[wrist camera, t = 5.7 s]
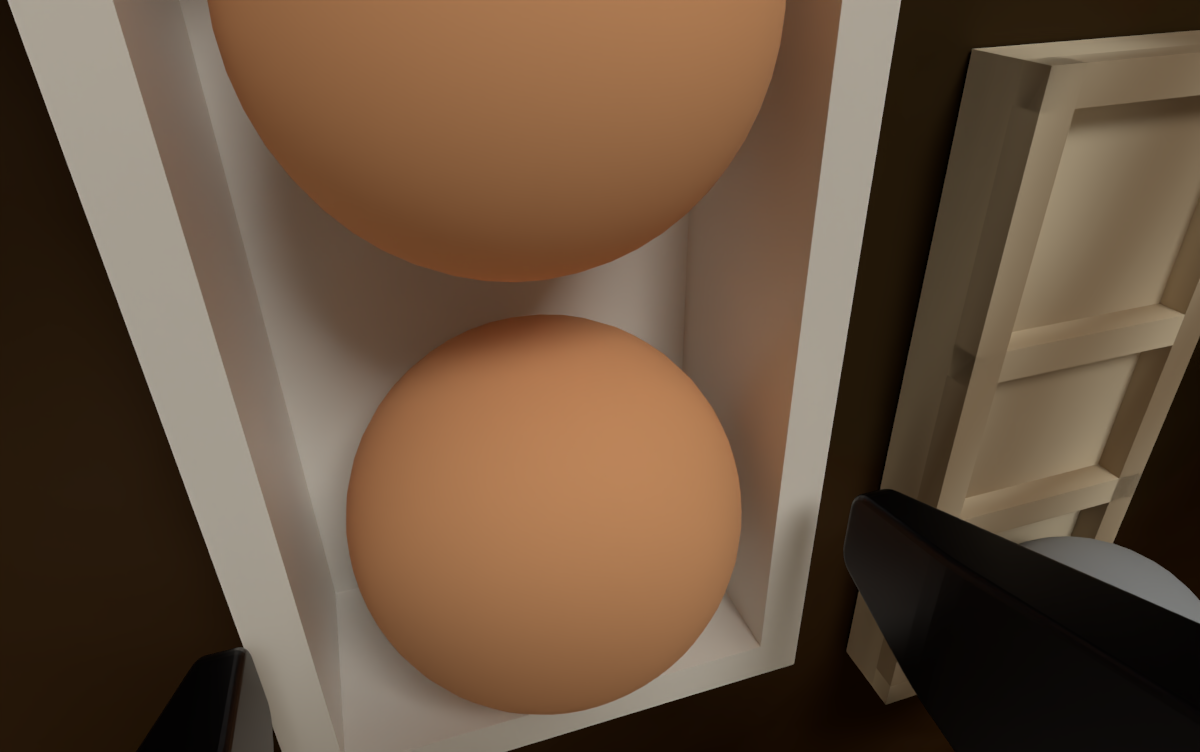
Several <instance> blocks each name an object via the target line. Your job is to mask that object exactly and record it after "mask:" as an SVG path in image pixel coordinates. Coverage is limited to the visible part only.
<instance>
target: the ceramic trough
mask: <svg viewBox="0 0 1200 752" xmlns="http://www.w3.org/2000/svg"><path fill="white" fill-rule="evenodd" d="M8 3H9V6H10V8H11V11H12V14H13V17H14V19H15V22H16V25H17V27H18V30H19V33H20V36H21V38H22V41H23V44H24V47H25V49H26V52H27V55H28V58H29V60H30V63H31V66H32V69H33V71H34V74H35V77H36V80H37V82H38V85H39V88H40V91H41V93H42V96H43V99H44V101H45V104H46V107H47V110H48V112H49V115H50V118H51V121H52V123H53V126H54V129H55V132H56V134H57V137H58V140H59V143H60V145H61V148H62V151H63V154H64V156H65V159H66V162H67V165H68V167H69V170H70V173H71V175H72V178H73V181H74V184H75V186H76V189H77V192H78V195H79V197H80V200H81V203H82V206H83V208H84V211H85V214H86V217H87V219H88V222H89V225H90V228H91V230H92V233H93V236H94V239H95V241H96V244H97V247H98V249H99V252H100V255H101V258H102V260H103V263H104V266H105V269H106V271H107V274H108V277H109V280H110V282H111V285H112V288H113V291H114V293H115V296H116V299H117V302H118V304H119V307H120V310H121V313H122V315H123V318H124V321H125V323H126V326H127V329H128V332H129V334H130V337H131V340H132V343H133V345H134V348H135V351H136V354H137V356H138V359H139V362H140V365H141V367H142V370H143V373H144V376H145V378H146V381H147V384H148V387H149V389H150V392H151V395H152V397H153V400H154V403H155V406H156V408H157V411H158V414H159V417H160V419H161V422H162V425H163V428H164V430H165V433H166V436H167V439H168V441H169V444H170V447H171V450H172V452H173V455H174V458H175V461H176V463H177V466H178V469H179V471H180V474H181V477H182V480H183V482H184V485H185V488H186V491H187V493H188V496H189V499H190V502H191V504H192V507H193V510H194V513H195V515H196V518H197V521H198V524H199V526H200V529H201V532H202V534H203V537H204V540H205V543H206V545H207V548H208V551H209V554H210V556H211V559H212V562H213V565H214V567H215V570H216V573H217V576H218V578H219V581H220V584H221V587H222V589H223V592H224V595H225V598H226V600H227V603H228V606H229V608H230V611H231V614H232V617H233V619H234V622H235V625H236V628H237V630H238V633H239V636H240V639H241V641H242V644H243V647H244V648H245V649H247V650H248V651H249V653H250V654H251V656H252V659H253V662H254V664H255V667H256V670H257V673H258V675H259V678H260V681H261V684H262V687H263V689H264V692H265V695H266V698H267V701H268V704H269V708H270V713H271V720H272V726H273V729H274V732H275V735H276V737H277V740H278V743H279V746H280V748H281V751H282V752H506V751H509V750H513V749H516V748H519V747H522V746H526V745H529V744H532V743H536V742H539V741H542V740H546V739H549V738H552V737H555V736H559V735H562V734H565V733H569V732H572V731H575V730H578V729H582V728H585V727H588V726H592V725H595V724H598V723H601V722H605V721H608V720H611V719H615V718H618V717H621V716H625V715H628V714H631V713H634V712H638V711H641V710H644V709H648V708H651V707H654V706H657V705H661V704H664V703H667V702H671V701H674V700H677V699H681V698H684V697H687V696H690V695H694V694H697V693H700V692H704V691H707V690H710V689H713V688H717V687H720V686H723V685H727V684H730V683H733V682H736V681H740V680H743V679H746V678H750V677H753V676H756V675H760V674H763V673H766V672H769V671H773V670H776V669H779V668H783V667H786V666H789V665H792V664H794V661H795V654H796V648H797V642H798V636H799V630H800V623H801V617H802V611H803V605H804V599H805V592H806V586H807V580H808V574H809V568H810V561H811V555H812V549H813V543H814V537H815V530H816V524H817V518H818V512H819V506H820V499H821V493H822V487H823V481H824V475H825V468H826V462H827V456H828V450H829V444H830V437H831V431H832V425H833V419H834V413H835V406H836V400H837V394H838V388H839V382H840V375H841V369H842V363H843V357H844V351H845V344H846V338H847V332H848V326H849V320H850V313H851V307H852V301H853V295H854V289H855V282H856V276H857V270H858V264H859V257H860V251H861V245H862V239H863V233H864V226H865V220H866V214H867V208H868V202H869V195H870V189H871V183H872V177H873V171H874V164H875V158H876V152H877V146H878V140H879V133H880V127H881V121H882V115H883V109H884V102H885V96H886V90H887V84H888V78H889V71H890V65H891V59H892V53H893V47H894V40H895V34H896V28H897V22H898V16H899V9H900V3H901V0H786V9H785V16H784V23H783V30H782V37H781V44H780V48H779V52H778V56H777V60H776V64H775V68H774V71H773V75H772V79H771V82H770V84H769V87H768V90H767V93H766V95H765V98H764V101H763V103H762V106H761V109H760V111H759V113H758V115H757V117H756V119H755V121H754V123H753V125H752V127H751V129H750V131H749V134H748V136H747V138H746V140H745V141H744V143H743V144H742V146H741V148H740V149H739V151H738V152H737V154H736V155H735V157H734V159H733V160H732V162H731V163H730V165H729V167H728V168H727V169H726V170H725V172H724V173H723V174H722V176H721V177H720V178H719V179H718V181H717V182H716V183H715V184H714V186H713V187H712V188H711V189H710V191H709V192H708V193H707V194H706V195H705V196H704V197H703V198H702V199H701V200H700V201H699V202H698V203H697V204H696V205H695V206H694V207H693V208H692V209H691V210H690V211H689V212H688V213H687V214H686V215H685V216H683V217H682V218H681V219H680V220H679V221H677V222H676V223H675V224H674V225H672V226H671V227H670V228H669V229H667V230H666V231H665V232H664V233H662V234H661V235H659V236H657V237H656V238H654V239H653V240H651V241H650V242H648V243H646V244H645V245H643V246H642V247H640V248H639V249H637V250H635V251H632V252H630V253H628V254H626V255H624V256H622V257H620V258H618V259H616V260H614V261H612V262H609V263H606V264H603V265H600V266H597V267H594V268H591V269H589V270H586V271H583V272H579V273H576V274H571V275H567V276H562V277H557V278H552V279H548V280H537V281H525V282H496V281H482V280H475V279H469V278H463V277H457V276H452V275H449V274H445V273H442V272H438V271H435V270H432V269H428V268H425V267H422V266H418V265H415V264H412V263H410V262H408V261H405V260H403V259H401V258H399V257H396V256H394V255H392V254H389V253H387V252H385V251H383V250H381V249H379V248H377V247H376V246H374V245H372V244H371V243H369V242H367V241H366V240H364V239H362V238H361V237H359V236H357V235H356V234H354V233H352V232H351V231H350V230H348V229H347V228H346V227H344V226H343V225H342V224H341V223H339V222H338V221H337V220H335V219H334V218H333V217H332V216H330V215H329V214H328V213H326V212H325V211H324V210H323V209H322V208H321V207H320V206H319V205H318V204H317V203H315V202H314V201H313V200H312V199H311V198H310V197H309V196H308V195H307V194H306V193H305V192H304V191H303V190H302V189H301V188H300V187H299V186H298V185H297V184H296V183H295V182H294V181H293V179H292V178H291V177H290V176H289V175H288V174H287V172H286V171H285V170H284V169H283V167H282V166H281V165H280V164H279V162H278V161H277V160H276V159H275V157H274V156H273V155H272V153H271V152H270V151H269V150H268V148H267V147H266V146H265V144H264V143H263V141H262V139H261V138H260V136H259V134H258V133H257V131H256V130H255V128H254V126H253V125H252V123H251V121H250V120H249V118H248V116H247V115H246V113H245V112H244V110H243V108H242V105H241V103H240V101H239V99H238V97H237V94H236V92H235V90H234V88H233V86H232V83H231V81H230V79H229V77H228V75H227V72H226V70H225V67H224V64H223V60H222V57H221V54H220V51H219V48H218V44H217V41H216V38H215V35H214V32H213V28H212V23H211V17H210V12H209V7H208V1H207V0H8ZM539 314H545V315H567V316H574V317H581V318H586V319H589V320H593V321H597V322H600V323H604V324H607V325H610V326H614V327H617V328H619V329H621V330H623V331H626V332H628V333H630V334H632V335H634V336H636V337H638V338H640V339H641V340H643V341H645V342H647V343H648V344H650V345H651V346H653V347H654V348H656V349H657V350H659V351H660V352H662V353H663V354H665V355H666V356H667V357H668V358H669V359H670V360H671V361H672V362H673V363H675V364H676V365H677V366H678V367H679V368H680V369H681V370H682V371H683V372H684V373H685V374H686V375H688V376H689V377H690V378H691V379H692V381H693V382H694V383H695V385H696V386H697V387H698V389H699V390H700V391H701V392H702V394H703V395H704V397H705V398H706V399H707V401H708V402H709V403H710V405H711V406H712V408H713V410H714V412H715V413H716V415H717V417H718V419H719V421H720V423H721V425H722V427H723V429H724V432H725V434H726V436H727V438H728V440H729V443H730V447H731V450H732V453H733V456H734V460H735V464H736V468H737V472H738V477H739V484H740V491H741V509H742V515H741V533H740V539H739V546H738V552H737V558H736V563H735V566H734V569H733V572H732V575H731V578H730V581H729V584H728V586H727V589H726V592H725V594H724V596H723V598H722V601H721V603H720V605H719V607H718V609H717V610H716V612H715V614H714V615H713V617H712V619H711V620H710V622H709V623H708V625H707V626H706V628H705V629H704V631H703V632H702V633H701V635H700V636H699V637H698V639H697V640H696V641H695V643H694V644H693V645H692V646H691V647H690V648H689V650H688V651H687V652H686V653H685V654H684V655H683V656H682V657H681V658H680V659H679V660H678V661H677V662H676V663H675V664H673V665H672V666H671V667H670V668H669V669H667V670H666V671H665V672H664V673H662V674H661V675H660V676H658V677H657V678H655V679H654V680H652V681H651V682H649V683H648V684H646V685H645V686H643V687H641V688H639V689H638V690H636V691H634V692H632V693H630V694H628V695H626V696H624V697H622V698H620V699H617V700H615V701H612V702H610V703H607V704H604V705H601V706H598V707H595V708H591V709H587V710H584V711H578V712H573V713H566V714H555V715H536V714H518V713H510V712H505V711H501V710H497V709H492V708H489V707H486V706H482V705H479V704H476V703H473V702H471V701H468V700H466V699H463V698H461V697H458V696H457V695H455V694H453V693H452V692H450V691H448V690H446V689H445V688H443V687H441V686H439V685H438V684H436V683H434V682H433V681H431V680H429V679H428V678H427V677H425V676H424V675H423V674H422V673H421V672H419V671H418V670H417V669H416V668H415V667H413V666H412V665H411V664H410V663H409V662H408V661H407V660H406V659H405V658H404V657H402V656H401V655H400V654H399V652H398V651H397V650H396V649H395V648H394V646H393V645H392V644H391V643H390V642H389V641H388V639H387V638H386V636H385V635H384V634H383V632H382V631H381V630H380V628H379V627H378V625H377V624H376V622H375V620H374V618H373V617H372V615H371V613H370V611H369V610H368V608H367V606H366V603H365V601H364V599H363V597H362V595H361V592H360V590H359V587H358V584H357V581H356V578H355V575H354V572H353V568H352V564H351V559H350V555H349V548H348V542H347V535H346V504H347V491H348V486H349V481H350V476H351V471H352V466H353V462H354V458H355V455H356V452H357V449H358V447H359V444H360V441H361V438H362V436H363V434H364V432H365V430H366V428H367V426H368V424H369V423H370V421H371V419H372V417H373V415H374V413H375V412H376V410H377V408H378V406H379V405H380V403H381V402H382V400H383V399H384V398H385V396H386V395H387V394H388V392H389V391H390V389H391V388H392V387H393V386H394V385H395V384H396V383H397V382H398V381H399V380H400V378H401V377H402V376H403V375H404V374H405V373H406V372H407V371H408V370H409V369H410V368H411V367H413V366H414V365H415V364H416V363H417V362H419V361H420V360H421V359H422V358H423V357H425V356H426V355H427V354H428V353H429V352H431V351H432V350H434V349H435V348H437V347H439V346H440V345H442V344H443V343H445V342H446V341H448V340H449V339H451V338H454V337H456V336H458V335H460V334H462V333H464V332H466V331H468V330H470V329H473V328H476V327H478V326H481V325H484V324H487V323H490V322H494V321H498V320H502V319H507V318H511V317H520V316H529V315H539Z"/></svg>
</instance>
